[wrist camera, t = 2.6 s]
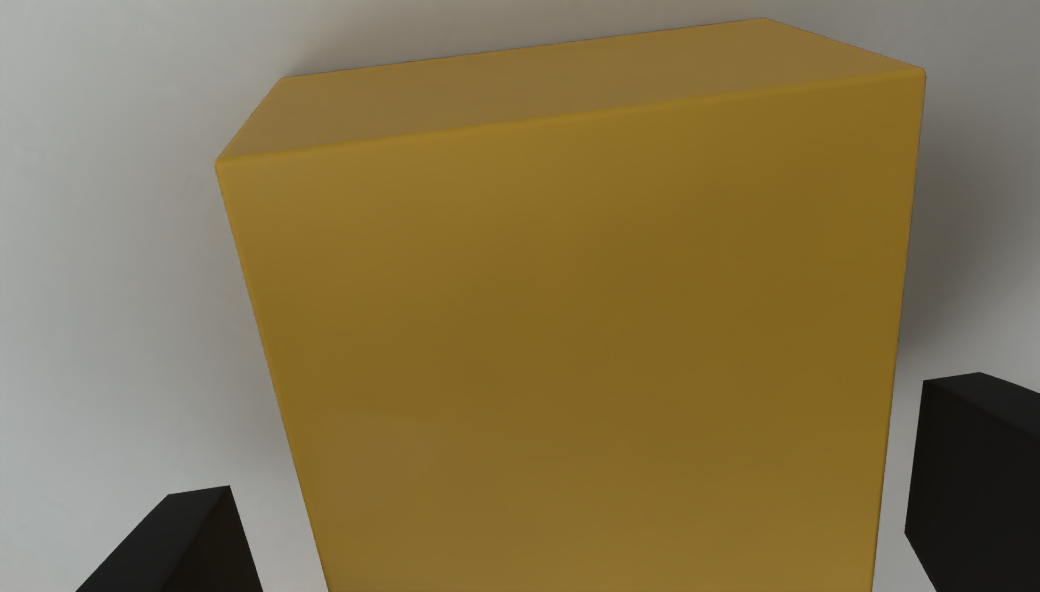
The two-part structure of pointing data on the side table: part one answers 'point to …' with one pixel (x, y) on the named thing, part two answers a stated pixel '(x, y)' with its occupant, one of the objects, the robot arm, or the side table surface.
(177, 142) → the side table surface
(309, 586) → the side table surface
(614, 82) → the block
